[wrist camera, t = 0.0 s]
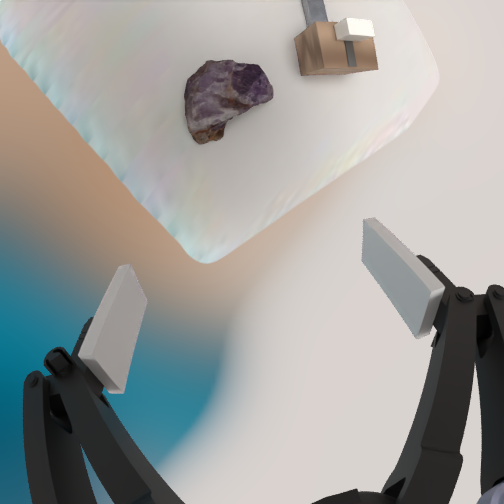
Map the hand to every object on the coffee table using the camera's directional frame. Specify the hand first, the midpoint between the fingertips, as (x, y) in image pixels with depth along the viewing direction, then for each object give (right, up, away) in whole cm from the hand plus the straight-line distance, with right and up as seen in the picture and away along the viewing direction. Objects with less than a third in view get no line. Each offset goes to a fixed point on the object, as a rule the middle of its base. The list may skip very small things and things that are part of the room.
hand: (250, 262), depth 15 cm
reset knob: (+11, +25, +7) cm, 28 cm away
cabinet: (+10, +29, +17) cm, 35 cm away
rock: (-4, +22, +20) cm, 30 cm away
